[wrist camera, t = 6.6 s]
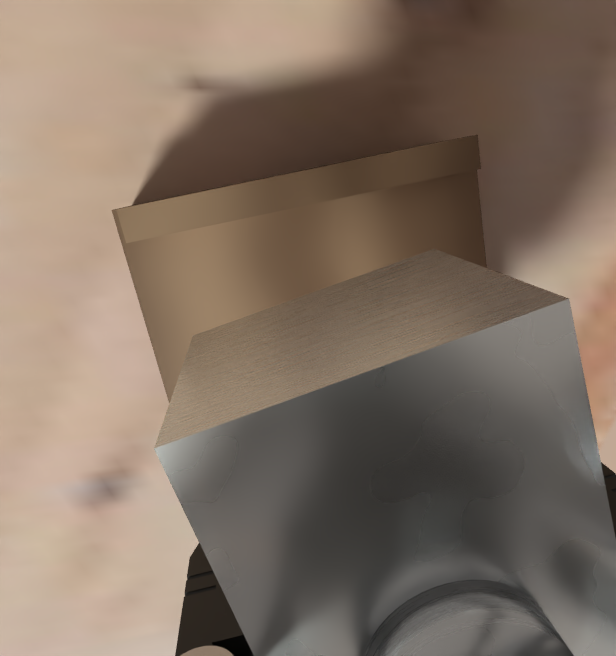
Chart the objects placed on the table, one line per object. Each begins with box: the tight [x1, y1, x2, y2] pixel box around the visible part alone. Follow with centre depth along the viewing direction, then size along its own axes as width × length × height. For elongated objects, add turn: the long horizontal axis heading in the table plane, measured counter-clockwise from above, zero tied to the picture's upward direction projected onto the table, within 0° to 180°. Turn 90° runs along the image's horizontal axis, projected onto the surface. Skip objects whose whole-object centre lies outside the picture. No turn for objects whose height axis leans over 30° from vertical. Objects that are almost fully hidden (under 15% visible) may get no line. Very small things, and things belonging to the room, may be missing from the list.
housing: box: [154, 249, 616, 656], centre depth 10 cm, size 6×10×6 cm, turn 19°
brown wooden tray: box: [112, 135, 487, 404], centre depth 20 cm, size 12×15×4 cm
